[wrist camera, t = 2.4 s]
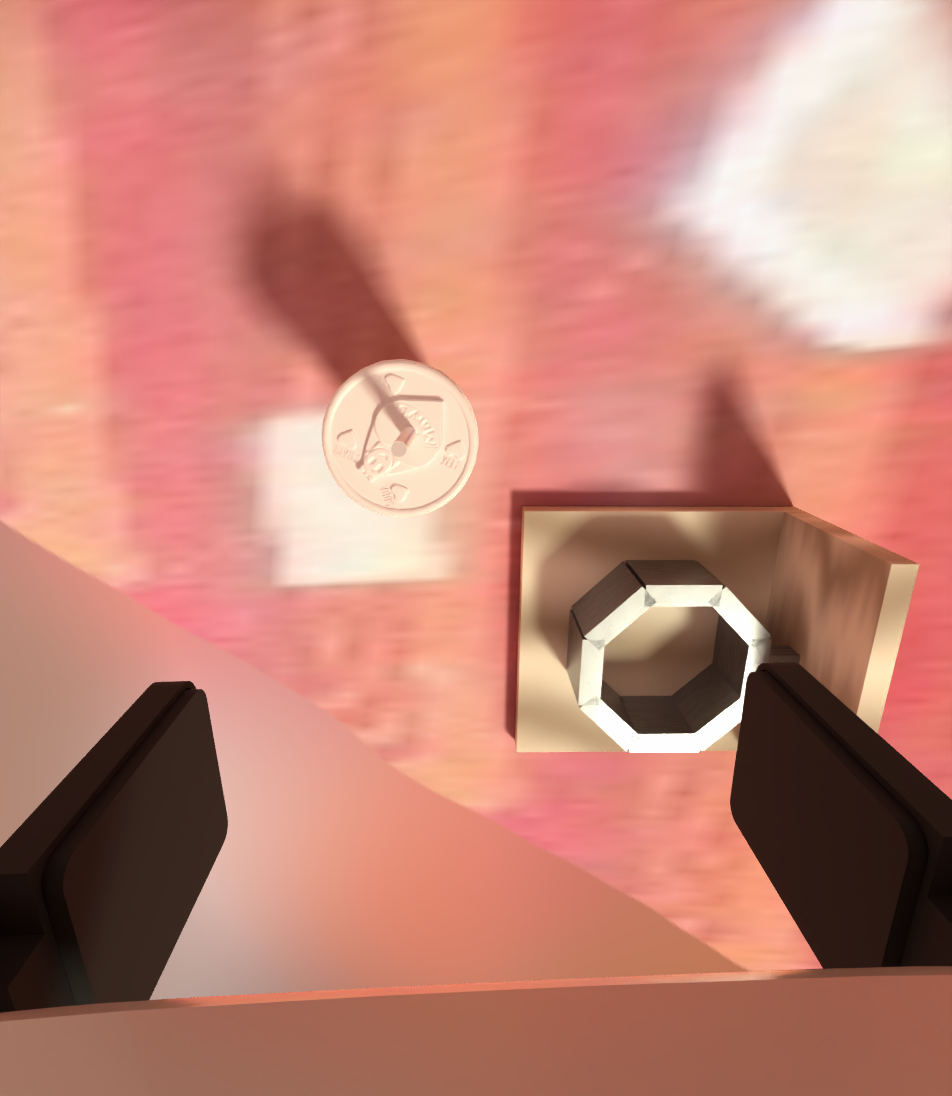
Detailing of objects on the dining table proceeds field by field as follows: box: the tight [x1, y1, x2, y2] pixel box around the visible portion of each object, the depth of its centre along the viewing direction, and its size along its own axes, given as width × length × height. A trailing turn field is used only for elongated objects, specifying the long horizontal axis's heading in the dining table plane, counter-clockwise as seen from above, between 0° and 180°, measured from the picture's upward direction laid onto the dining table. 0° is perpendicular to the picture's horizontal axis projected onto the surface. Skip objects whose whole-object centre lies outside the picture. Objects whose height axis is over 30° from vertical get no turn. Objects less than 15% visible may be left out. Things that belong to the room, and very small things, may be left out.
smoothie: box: [322, 359, 479, 517], centre depth 27 cm, size 6×6×14 cm
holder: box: [515, 506, 919, 752], centre depth 33 cm, size 16×16×10 cm
